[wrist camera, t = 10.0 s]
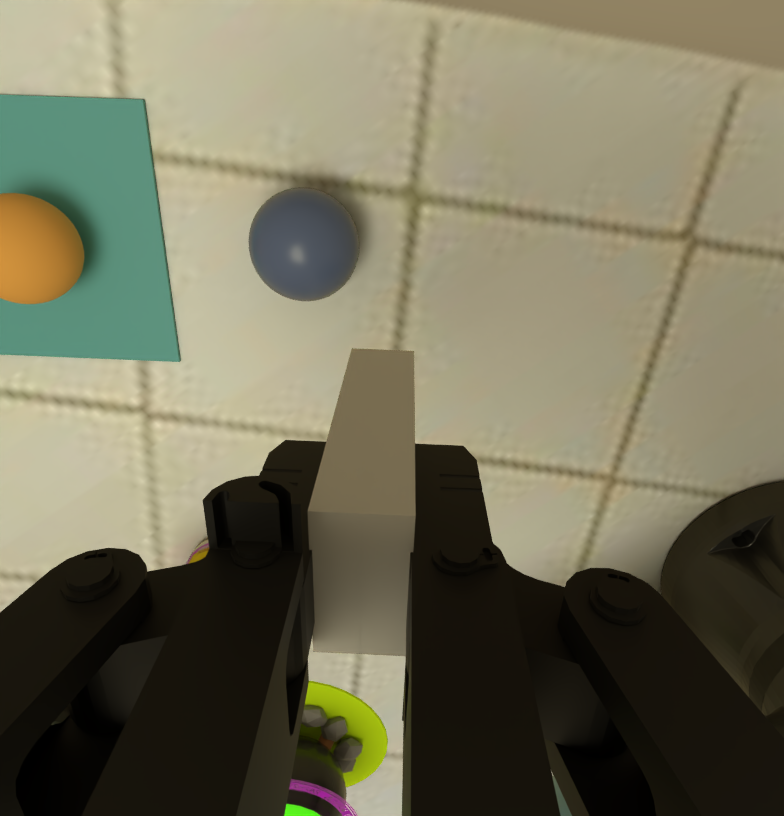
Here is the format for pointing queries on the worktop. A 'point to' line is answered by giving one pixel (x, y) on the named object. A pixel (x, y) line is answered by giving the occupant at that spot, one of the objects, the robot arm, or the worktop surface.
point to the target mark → (91, 228)
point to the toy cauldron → (333, 751)
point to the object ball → (36, 250)
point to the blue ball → (303, 244)
